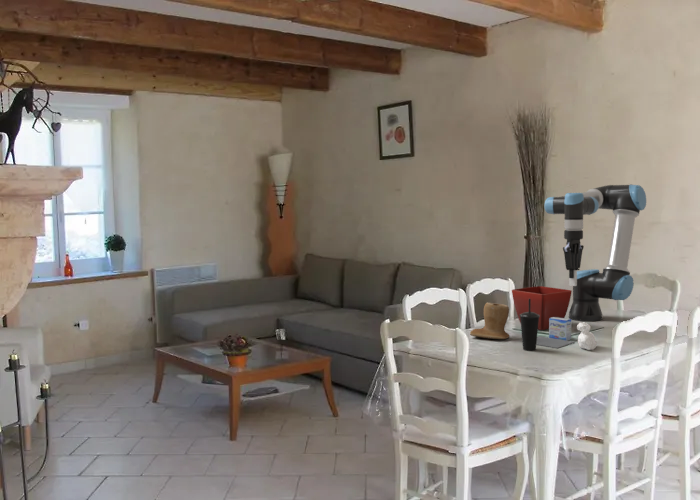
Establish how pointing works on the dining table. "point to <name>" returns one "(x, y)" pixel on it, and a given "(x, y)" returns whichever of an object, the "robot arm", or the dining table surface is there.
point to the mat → (552, 342)
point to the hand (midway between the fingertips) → (572, 285)
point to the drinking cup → (529, 329)
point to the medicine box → (560, 328)
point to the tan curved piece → (493, 322)
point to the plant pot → (542, 303)
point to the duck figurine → (586, 337)
